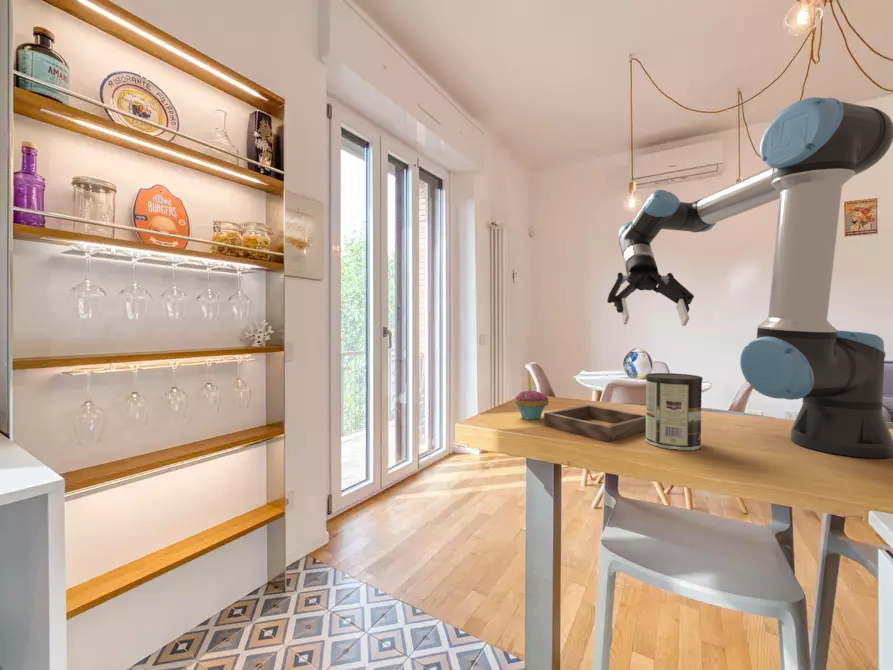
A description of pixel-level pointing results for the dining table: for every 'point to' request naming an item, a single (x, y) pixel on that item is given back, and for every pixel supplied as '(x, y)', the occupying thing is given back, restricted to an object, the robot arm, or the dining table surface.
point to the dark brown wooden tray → (572, 423)
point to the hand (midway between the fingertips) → (655, 321)
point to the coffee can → (673, 410)
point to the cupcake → (531, 402)
